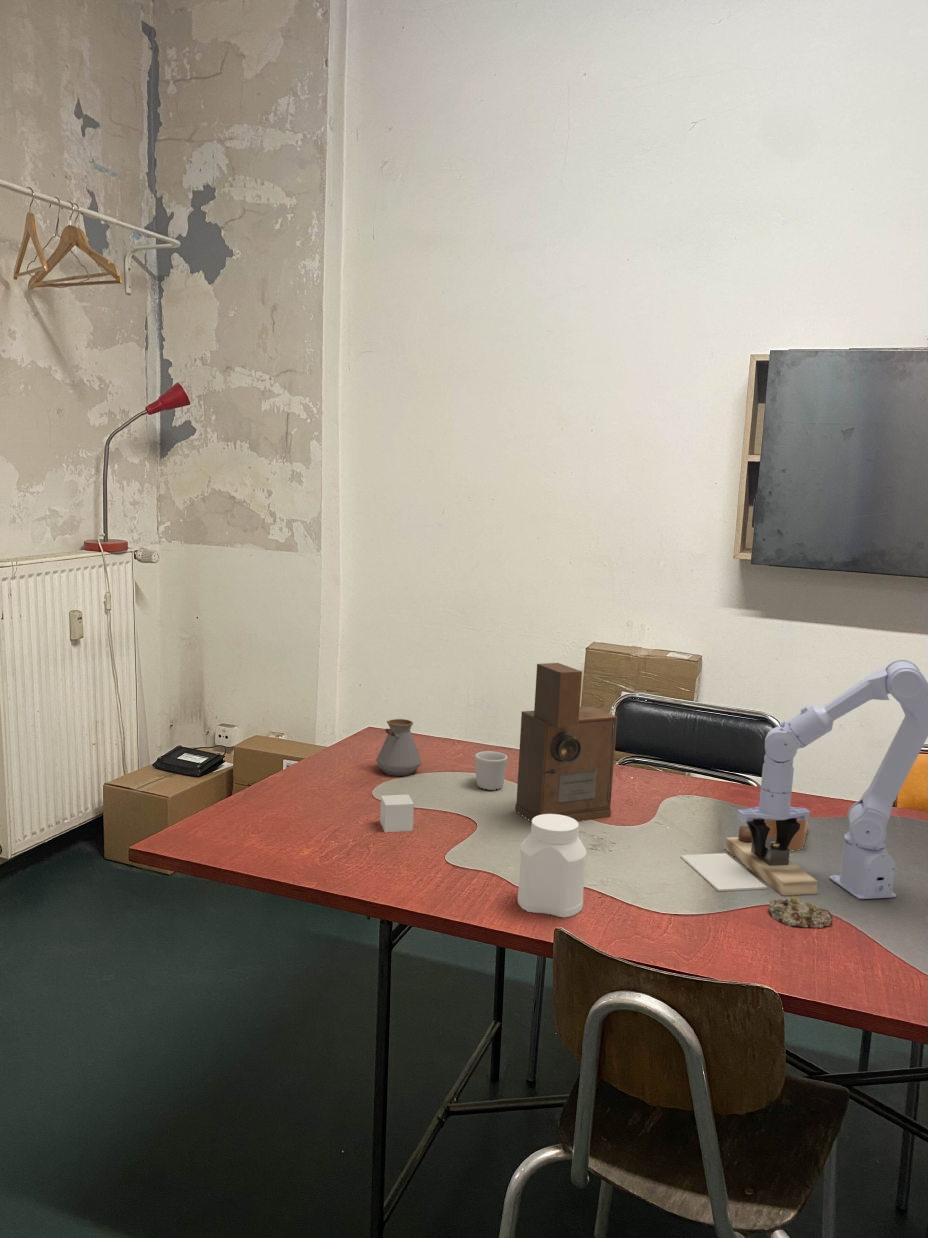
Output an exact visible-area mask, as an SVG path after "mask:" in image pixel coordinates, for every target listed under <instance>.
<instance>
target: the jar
mask: <svg viewBox="0 0 928 1238" xmlns="http://www.w3.org/2000/svg"><path fill="white" fill-rule="evenodd" d="M579 826H580V824H579V821H578V822H577V821H576V820H575V819H573V818H571V817H568V816H564V815H558V814H542V815H538V816H536V817H534V818H533V819H532V823H531V826H530V827H531V828H530V830H531V831H530V832H529V834H528V835H527V836H526V838H525V839H524V840H523V841H522V843H521V844H520V863H519V881H518V890H517V903H518V905H519V907H521V909H522V910H524V911H525V910H526V912H528V913H531V912H532V914H533V913H534V914H544V915H550V914H551V915H550V916H554V915H555V916H554V917H559V918H570V917H572V916H576V915H577V914H579V913H580V912H581V911H582V909H583V908H584V886H585V873H586V872H585V871H586V870H585V869H586V860H587V849H586V848H585V845H584V844H583V842H582V841H581V839H580V837H579Z"/></svg>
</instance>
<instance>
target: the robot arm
mask: <svg viewBox="0 0 928 1238" xmlns="http://www.w3.org/2000/svg"><path fill="white" fill-rule="evenodd" d="M889 695H891V696H892V697H893V698H894V699H895V700H896V701H897V702H898V703H899V705H900V707H901V709H902V711H903V713H904V717H903V720H902V721H901V723H900V726H899V727H898V729H897V731H896V733H895V735H894V737H893V739H892V741H891V743H890V745H889V747H888V749H887V750H886V753H885V755H884V756H883V759H882V760H881V763H880V764H879V767H878V768H877V769H876V770H877V771H876V772H875V775H874V776H873V779H872V781H871V782H870V784H869V786H868V788H867V789H866V790H865V791H864V792H863V793H862V795H861V797H860V798H859V800H858V801H857V802H855V803H854V804H852V805H851V806H850V807H849V808H848V810H847V822H848V824H849V829H848V832H847V833H845V834H844V837H843V842H842V843H843V846H842V852H841V853H842V855H841V862H840V871H839V875H835V874H834V875H830V876H829V879H830V880H831V881H833V882H834V883H835V884H836V885H839V887H841V888H843V889H844V890H845V891H847V892H848V893H850V894H851V895H852V896H854V897H855V898H857V900H858V899H859V900H867V899H868V900H870V899H887V898H888V899H889V898H896V897H897V894H896V893H894V891H893V890H894V881H895V873H896V863H895V859H894V858H893V857H891V855H890V854H889V852H888V851H887V849H886V840H885V839H886V838H887V824H888V822H889V819H890V818H891V814H892V810H893V809H892V808H893V806H894V805H893V804H894V803H895V800H896V799H897V797H898V795H899V792H900V791H901V789H902V787H903V785H904V783H905V781H906V779H907V777H908V775H909V773H910V772H911V770H912V768H913V766H914V764H915V762H916V760H917V758H918V756H919V754H920V752H921V750H922V748H923V747H924V745H925V742H926V740H927V739H928V681H927V679H926V678H925V675H924V674H923V672H922V671H921V670H920V669H919V667H918V666H917V664H915V663H913V662H912V661H911V660H909V659H908V660H907V659H897V660H893V661H892V662H890V663H889V664H888V665H887V666H886V667H884V666H883V667H881V668H879V669H877V670H875V671H873V672H872V673H871V674H869V675H867V676H865V677H864V678H862V679H861V680H860V681H858V682H857V683H855V684H853V686H851V687H850V688H848V689H847V690H845V691H843V692H842V693H841V694H839V695H838V696H837V697H835V698H834V699H832V700H831V701H830V702H828V703H826V704H825V705H823V706H821V705H816V704H813V705H811V706H809V707H808V706H807V705H804V706H802V707H801V708H800V713H798V714H797V715H795V716H794V717H792V718H790V719H789V720H787V721H786V722H785V720H783V721H781V722H779V726H776V727H774V728H771V729H770V730H769V731H768V733H767V734H766V737H765V738H764V750H765V754H764V758H763V760H764V762H763V764H762V772H761V782H760V783H761V784H760V793H759V804H758V805H759V806H758V805H757V806H754V807H749V808H745V809H744V808H743V809H737V814H736V815H737V816H736V819H737V821H739V822H741V823H742V824H744V823H745V824H747V827H749V829H750V832H751V835H752V838H753V843H754V849H755V854H756V855H757V856H758V857H760V858H763V857H764V853H765V844H766V839H767V836H768V833H769V830H770V828H769V827H768V826H766V823H764V822H765V821H771V820H776V828H777V838H776V841H777V842H779V843H780V844H782V845H783V846H784V847H786V848H788V846H789V844H790V842H791V840H792V838H793V837H794V835H795V834H796V833H797V831H798V830H799V829H800V824H799V823H798V822H797V820H799V819H803V820H805V821H807V820H808V821H810V814H811V811H810V810H808V809H807V808H805V807H793V806H791V801H792V800H791V799H792V792H793V791H792V790H793V782H794V774H795V773H794V771H795V768H794V766H793V764H794V758H795V757H796V755H797V753H798V749H803V748H804V749H805V747H807V746H808V745H810V744H812V743H814V742H815V741H817V740H818V739H820V738H822V737H823V736H825V735H826V734H828V733H829V732H832V730H833V725H834V721H836V720H838V719H840V718H841V717H843V716H844V715H846V714H847V713H850V712H852V711H853V710H856V709H857V708H858V707H860V706H862V705H863V704H866V703H867V702H869V701H871V700H877V701H879V700H880V701H889V700H890V698H889Z"/></svg>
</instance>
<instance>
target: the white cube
mask: <svg viewBox="0 0 928 1238" xmlns="http://www.w3.org/2000/svg"><path fill="white" fill-rule="evenodd" d="M414 810H415V803H414V801H413V800H412V799H411V796H410V795H409V794H392V795H391V794H387V795H380V816H379V823H380V824H381V827H382V829H383V831H384V833H395V832H413V830H414V814H415V813H414Z"/></svg>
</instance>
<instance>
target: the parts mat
mask: <svg viewBox="0 0 928 1238" xmlns="http://www.w3.org/2000/svg"><path fill="white" fill-rule="evenodd" d="M679 857H680V858H681V859H682V860H683V861H684V862H685V861H686V862H687V863H688V864H689V865H688V864H687V863H686V862H685V863H686V864H687V865H688V866H690V868H692V869H693V870H694V871H695V872H696V873H697V874H698V875H699V876H700V877H701V878H702V879H703V880H705V881H706V882H707V883H708V884H709V885H710V886H711V887H712V888H714V889H715V890H716V891H717V892H733V891H734V892H736V891H751V890H752V891H755V890H767V889H768V886H766V885H765V884H764V883H763V882H761V881H760V879H758V878H757V877H756V876H754V875H753V874H752V873H751V872H749V871H748V870H747V869H745V867H743V866H742V865H741V864H740V863H738V862H737V861H736V860H734V858H732V857H731V856H730V855H728V853H723V852H722V853H720V852H719V853H704V854H702V853H699V854H680V856H679Z"/></svg>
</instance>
